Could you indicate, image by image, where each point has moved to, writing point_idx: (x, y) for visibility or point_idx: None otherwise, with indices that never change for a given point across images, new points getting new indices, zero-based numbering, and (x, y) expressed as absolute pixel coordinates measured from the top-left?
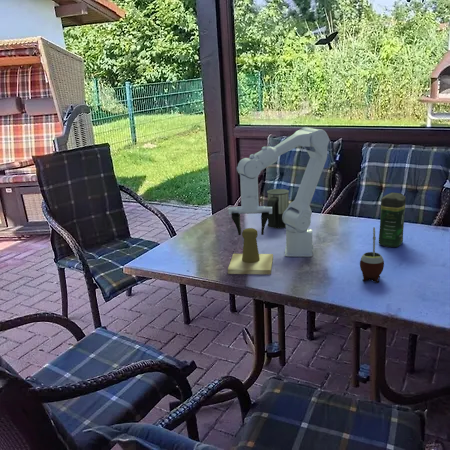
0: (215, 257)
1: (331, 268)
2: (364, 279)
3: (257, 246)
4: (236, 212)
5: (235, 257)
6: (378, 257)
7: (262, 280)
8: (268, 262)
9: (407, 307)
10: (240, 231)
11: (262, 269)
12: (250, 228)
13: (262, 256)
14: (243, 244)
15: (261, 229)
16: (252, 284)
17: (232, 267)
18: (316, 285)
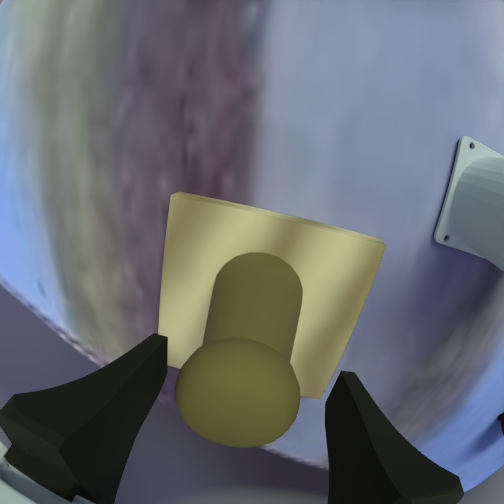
0: (100, 175)
1: (500, 359)
2: (500, 420)
3: (293, 343)
4: (57, 502)
5: (181, 249)
6: None
7: None
8: (333, 339)
9: (472, 473)
10: (158, 382)
11: None
12: (239, 419)
13: (324, 266)
14: (203, 338)
15: (327, 444)
16: None
17: (173, 351)
18: (408, 440)
